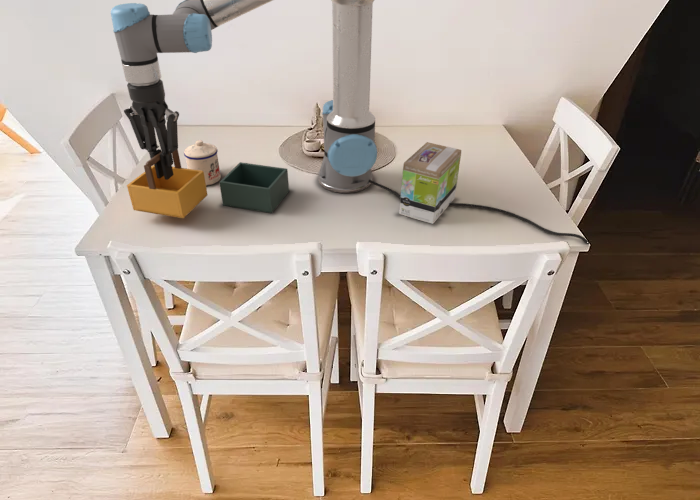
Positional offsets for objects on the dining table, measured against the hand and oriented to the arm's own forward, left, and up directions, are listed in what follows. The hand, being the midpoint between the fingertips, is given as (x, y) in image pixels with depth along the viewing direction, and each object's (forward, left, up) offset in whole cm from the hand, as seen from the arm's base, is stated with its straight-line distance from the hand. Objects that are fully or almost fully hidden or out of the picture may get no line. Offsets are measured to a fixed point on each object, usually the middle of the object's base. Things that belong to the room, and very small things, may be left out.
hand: (165, 176), depth 132 cm
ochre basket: (0, 0, -7) cm, 7 cm away
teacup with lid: (+2, -21, -11) cm, 24 cm away
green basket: (-17, -14, -11) cm, 24 cm away
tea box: (-62, -22, -11) cm, 67 cm away
